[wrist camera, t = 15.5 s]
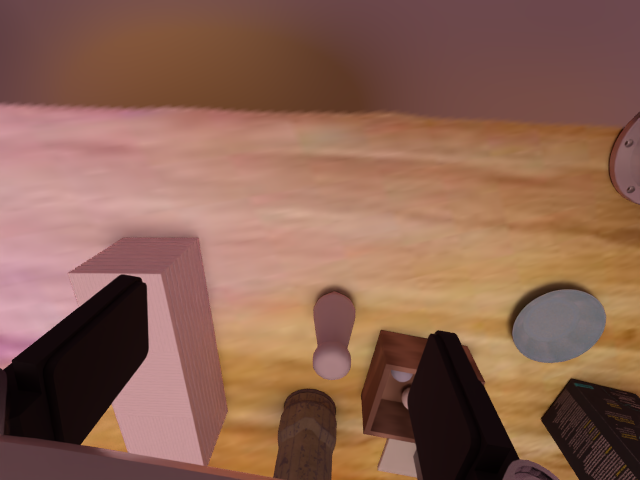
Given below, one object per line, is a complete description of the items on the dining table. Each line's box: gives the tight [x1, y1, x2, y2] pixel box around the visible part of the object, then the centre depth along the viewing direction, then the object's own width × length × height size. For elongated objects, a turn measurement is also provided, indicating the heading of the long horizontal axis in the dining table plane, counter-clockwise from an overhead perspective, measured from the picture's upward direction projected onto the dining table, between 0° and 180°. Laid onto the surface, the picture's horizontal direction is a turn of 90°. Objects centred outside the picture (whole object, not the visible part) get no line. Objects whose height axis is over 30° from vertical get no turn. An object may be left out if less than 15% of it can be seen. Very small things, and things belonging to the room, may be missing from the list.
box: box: [361, 330, 485, 443], centre depth 50 cm, size 13×13×7 cm
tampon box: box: [541, 379, 640, 480], centre depth 47 cm, size 11×9×15 cm
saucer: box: [512, 289, 606, 363], centre depth 48 cm, size 12×12×2 cm
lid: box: [377, 438, 423, 480], centre depth 56 cm, size 14×14×8 cm
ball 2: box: [402, 388, 410, 409], centre depth 52 cm, size 3×3×3 cm
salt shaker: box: [313, 291, 355, 380], centre depth 44 cm, size 6×6×13 cm
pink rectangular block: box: [68, 238, 228, 466], centre depth 49 cm, size 32×11×11 cm, turn 1°
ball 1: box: [391, 370, 413, 382], centre depth 50 cm, size 3×3×3 cm
